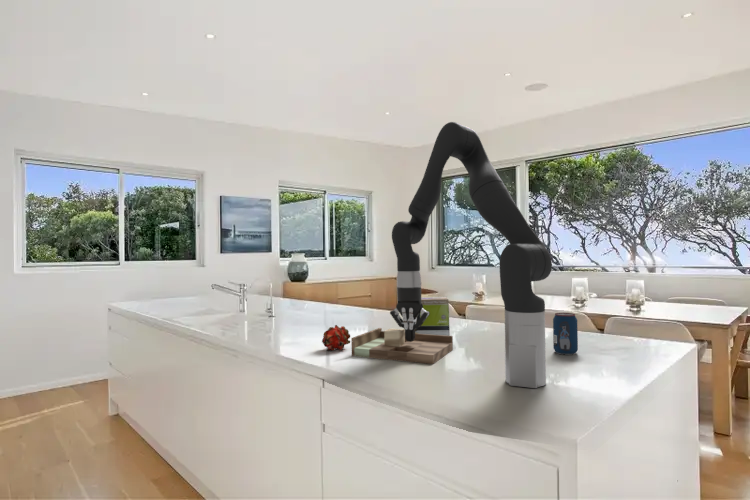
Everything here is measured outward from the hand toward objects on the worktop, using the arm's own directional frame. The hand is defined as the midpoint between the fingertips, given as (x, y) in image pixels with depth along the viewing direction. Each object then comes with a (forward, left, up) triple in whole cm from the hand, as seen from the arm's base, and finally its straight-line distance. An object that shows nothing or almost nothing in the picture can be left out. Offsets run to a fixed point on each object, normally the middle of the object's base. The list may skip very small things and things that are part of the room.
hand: (410, 341), depth 144 cm
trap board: (0, +2, -4) cm, 4 cm away
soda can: (+19, -44, -4) cm, 48 cm away
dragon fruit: (-4, +24, -4) cm, 25 cm away
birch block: (-1, +5, -1) cm, 5 cm away
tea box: (+27, +3, -4) cm, 27 cm away
